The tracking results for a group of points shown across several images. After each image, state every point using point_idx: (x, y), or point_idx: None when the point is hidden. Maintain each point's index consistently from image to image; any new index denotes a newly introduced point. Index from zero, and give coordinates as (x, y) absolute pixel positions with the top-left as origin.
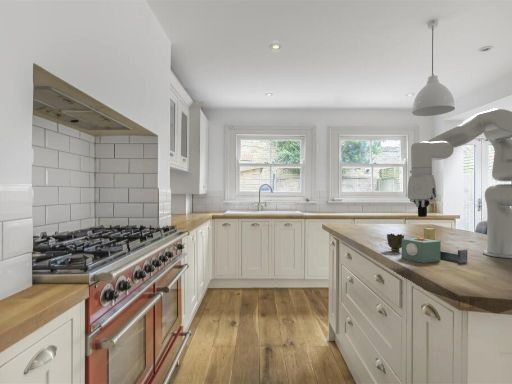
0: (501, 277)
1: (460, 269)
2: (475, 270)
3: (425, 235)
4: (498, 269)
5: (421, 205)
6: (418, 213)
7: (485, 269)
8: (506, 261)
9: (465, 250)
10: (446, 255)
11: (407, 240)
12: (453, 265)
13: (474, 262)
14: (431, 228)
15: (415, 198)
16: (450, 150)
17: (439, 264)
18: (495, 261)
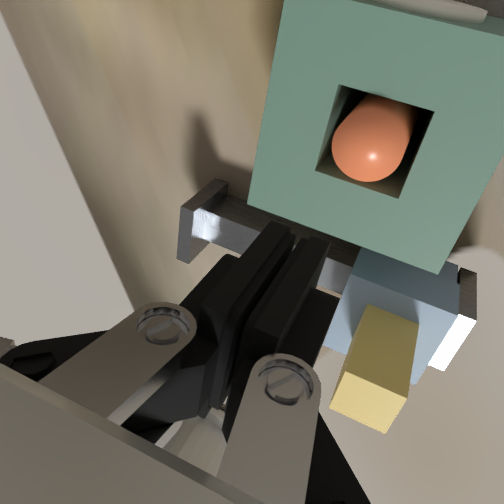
0: (12, 6)
1: (149, 10)
2: (112, 58)
3: (399, 346)
4: (92, 169)
5: (186, 341)
6: (309, 259)
7: (108, 124)
8: None
9: (179, 244)
10: None
11: (476, 28)
12: (209, 88)
13: None
14: (355, 416)
15: (190, 493)
16: None
17: (260, 43)
18: None
